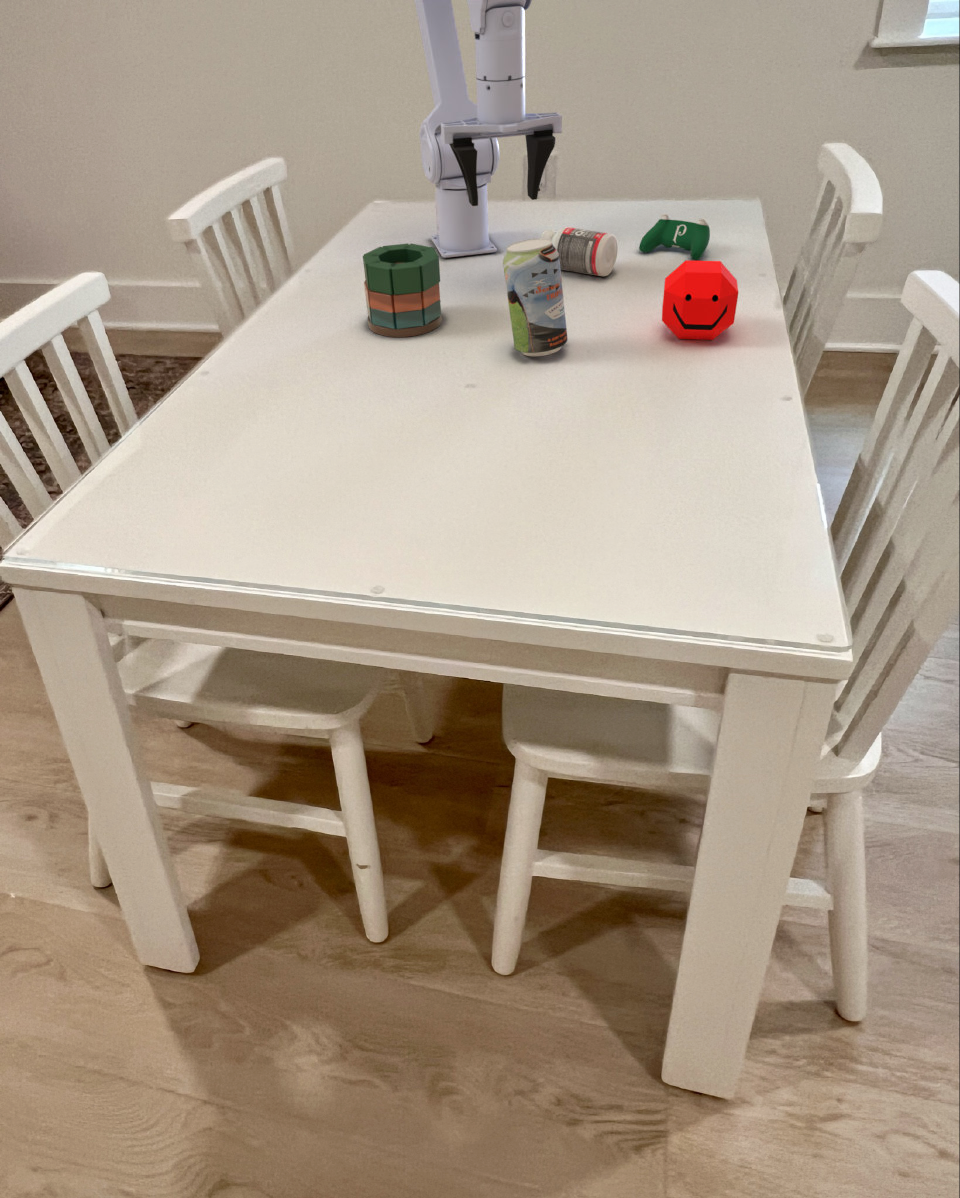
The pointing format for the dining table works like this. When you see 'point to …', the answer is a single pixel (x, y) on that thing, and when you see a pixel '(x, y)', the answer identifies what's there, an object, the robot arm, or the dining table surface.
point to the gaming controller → (677, 236)
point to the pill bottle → (584, 250)
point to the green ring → (401, 269)
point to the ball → (699, 300)
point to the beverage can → (535, 297)
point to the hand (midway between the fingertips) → (503, 200)
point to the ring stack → (403, 312)
